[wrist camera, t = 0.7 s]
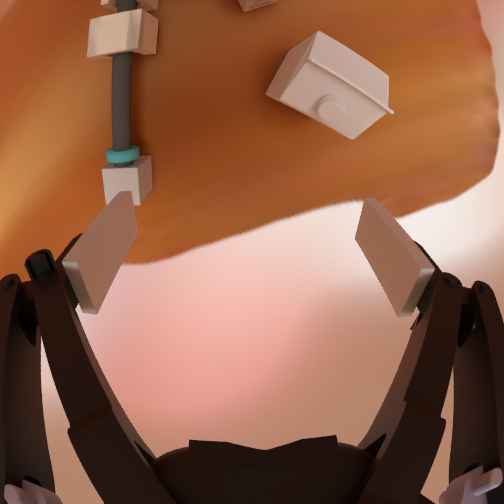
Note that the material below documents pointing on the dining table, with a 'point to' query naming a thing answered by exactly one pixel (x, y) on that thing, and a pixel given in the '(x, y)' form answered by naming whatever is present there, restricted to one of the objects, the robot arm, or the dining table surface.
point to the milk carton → (331, 85)
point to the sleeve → (122, 34)
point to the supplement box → (254, 4)
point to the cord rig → (125, 124)
